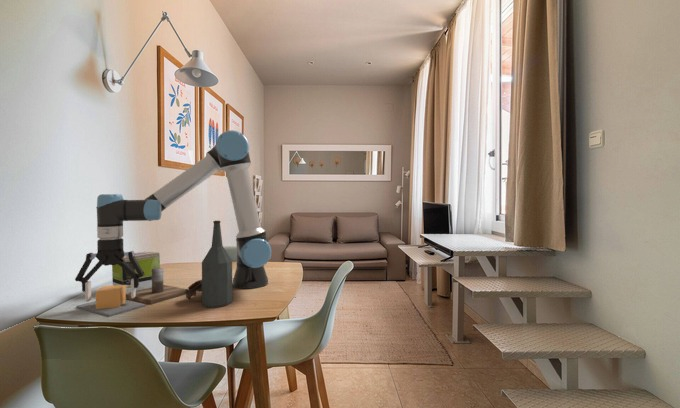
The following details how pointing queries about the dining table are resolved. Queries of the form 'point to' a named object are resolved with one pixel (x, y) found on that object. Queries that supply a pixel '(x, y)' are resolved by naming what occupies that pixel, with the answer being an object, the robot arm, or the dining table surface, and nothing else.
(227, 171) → the robot arm
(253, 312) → the dining table surface
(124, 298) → the orange foam cube
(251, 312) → the dining table surface
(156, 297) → the post stand
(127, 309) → the mat
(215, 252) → the bottle
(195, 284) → the brown animal figurine
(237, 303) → the dining table surface
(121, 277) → the tea box
